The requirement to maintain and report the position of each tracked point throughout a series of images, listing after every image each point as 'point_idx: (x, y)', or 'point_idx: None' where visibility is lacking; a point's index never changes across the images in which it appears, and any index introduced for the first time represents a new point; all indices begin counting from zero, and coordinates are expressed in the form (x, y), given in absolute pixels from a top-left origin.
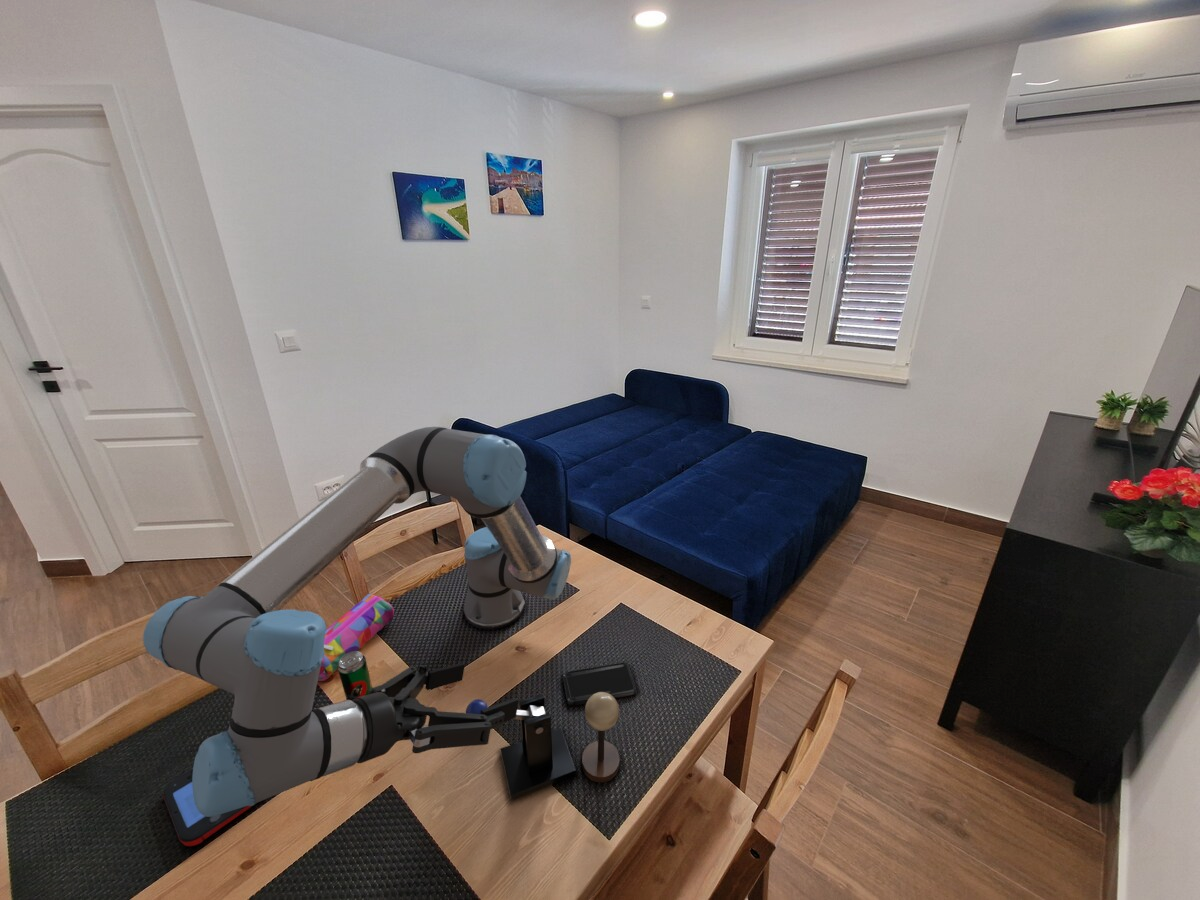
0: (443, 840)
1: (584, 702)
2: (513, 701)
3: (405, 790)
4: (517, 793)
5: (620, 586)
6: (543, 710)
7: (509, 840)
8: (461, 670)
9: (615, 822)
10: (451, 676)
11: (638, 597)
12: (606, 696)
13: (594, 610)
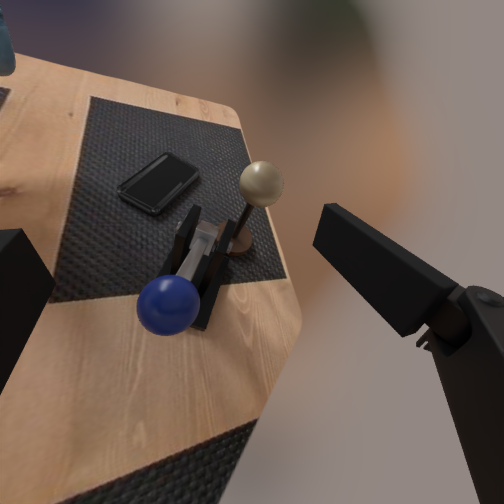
0: (185, 438)
1: (168, 205)
2: (346, 211)
3: (49, 492)
4: (208, 320)
5: (69, 77)
6: (209, 223)
7: (239, 354)
8: (29, 257)
9: (278, 265)
10: (12, 306)
11: (105, 87)
12: (269, 163)
13: (66, 111)
